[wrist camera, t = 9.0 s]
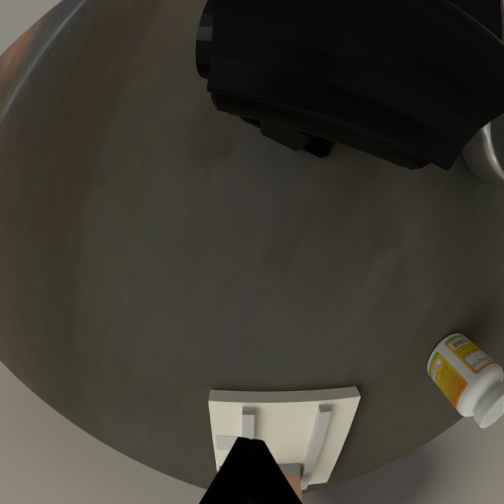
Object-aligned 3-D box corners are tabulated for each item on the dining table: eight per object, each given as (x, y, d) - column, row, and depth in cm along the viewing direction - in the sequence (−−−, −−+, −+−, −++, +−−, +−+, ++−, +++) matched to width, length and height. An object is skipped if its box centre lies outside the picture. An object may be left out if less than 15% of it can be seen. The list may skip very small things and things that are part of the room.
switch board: (210, 389, 22) (206, 408, 20) (355, 386, 22) (364, 403, 19) (220, 476, 25) (218, 491, 23) (324, 473, 25) (328, 488, 23)
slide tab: (257, 464, 23) (257, 533, 14) (298, 463, 23) (308, 530, 14) (256, 480, 24) (256, 542, 15) (294, 479, 24) (301, 540, 15)
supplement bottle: (437, 383, 22) (480, 439, 13) (417, 363, 22) (467, 427, 12) (470, 346, 21) (522, 394, 12) (454, 322, 21) (516, 373, 11)
